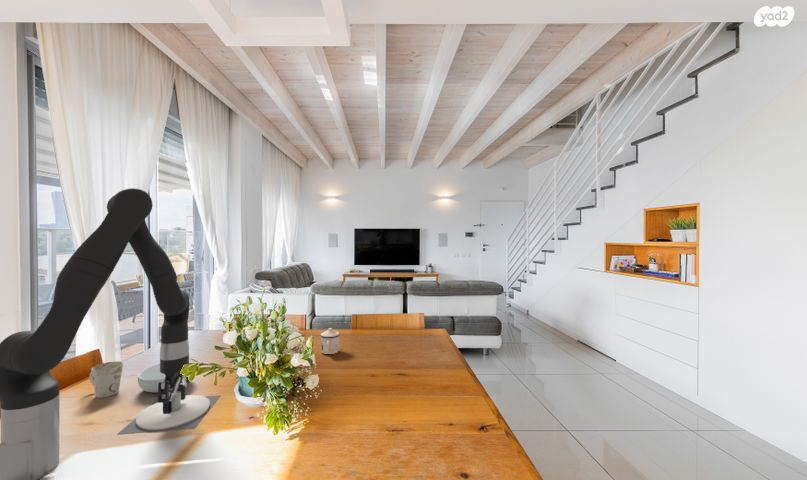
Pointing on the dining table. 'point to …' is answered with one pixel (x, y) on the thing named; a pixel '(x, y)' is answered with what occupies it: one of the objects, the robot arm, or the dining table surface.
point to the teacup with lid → (330, 341)
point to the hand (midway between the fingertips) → (174, 406)
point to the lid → (173, 412)
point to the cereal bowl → (151, 378)
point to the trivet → (191, 425)
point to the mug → (106, 378)
